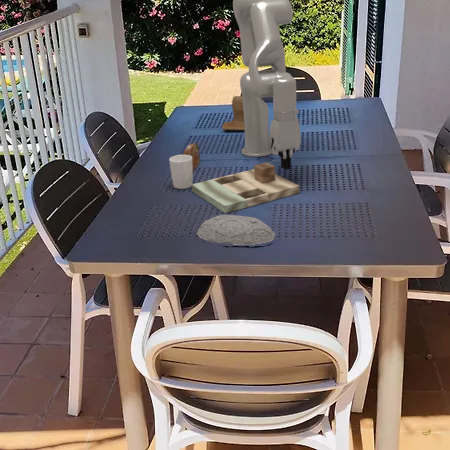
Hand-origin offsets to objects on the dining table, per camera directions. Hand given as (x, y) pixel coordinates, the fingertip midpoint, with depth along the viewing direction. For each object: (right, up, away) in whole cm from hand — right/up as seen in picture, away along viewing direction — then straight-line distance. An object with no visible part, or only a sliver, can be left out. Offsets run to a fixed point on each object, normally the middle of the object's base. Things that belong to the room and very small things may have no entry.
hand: (286, 168), depth 205 cm
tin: (-33, +2, +21) cm, 39 cm away
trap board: (-14, -8, -5) cm, 17 cm away
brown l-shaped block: (-14, +24, +65) cm, 70 cm away
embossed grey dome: (-18, -23, -34) cm, 44 cm away
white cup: (-35, -6, +4) cm, 36 cm away
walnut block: (-7, -4, -2) cm, 9 cm away
